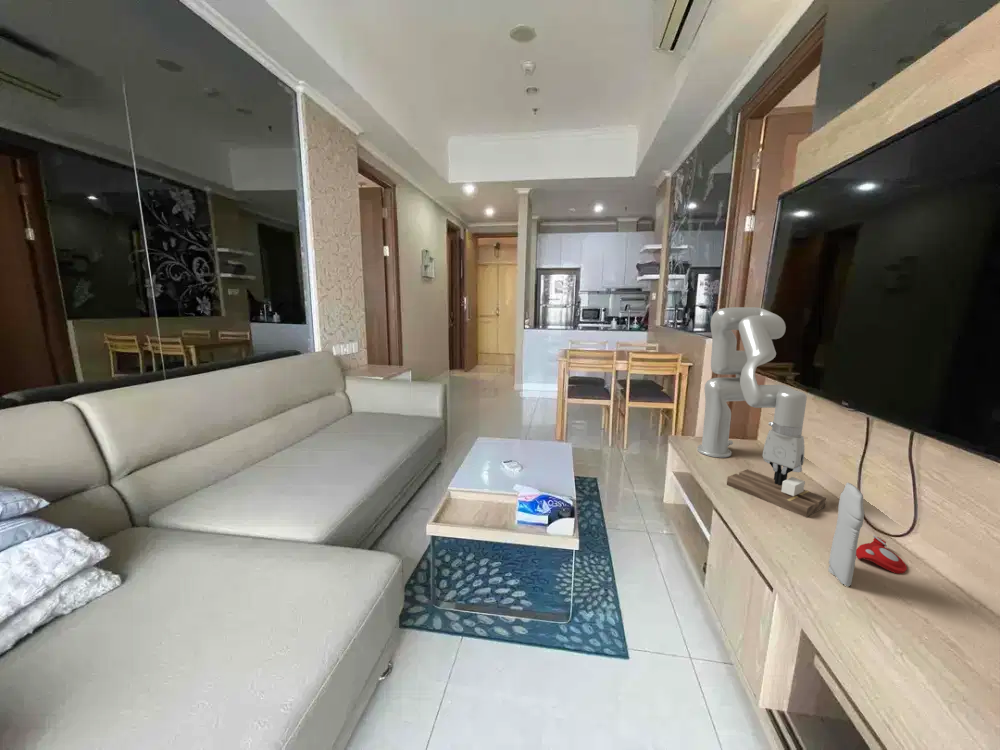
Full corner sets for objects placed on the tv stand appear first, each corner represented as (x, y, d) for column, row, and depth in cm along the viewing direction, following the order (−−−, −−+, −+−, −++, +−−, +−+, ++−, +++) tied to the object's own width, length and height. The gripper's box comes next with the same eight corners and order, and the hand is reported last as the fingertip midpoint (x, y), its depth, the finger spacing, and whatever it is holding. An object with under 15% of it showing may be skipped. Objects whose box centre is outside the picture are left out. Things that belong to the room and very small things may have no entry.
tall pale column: (821, 558, 101) (835, 476, 96) (841, 562, 99) (856, 479, 95) (836, 585, 91) (852, 496, 87) (859, 590, 90) (877, 500, 85)
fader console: (746, 477, 145) (747, 469, 145) (825, 506, 125) (826, 497, 124) (726, 484, 139) (727, 476, 139) (806, 517, 119) (807, 507, 118)
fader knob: (790, 492, 130) (792, 476, 129) (802, 496, 127) (804, 481, 126) (780, 496, 127) (782, 481, 126) (792, 501, 124) (795, 485, 123)
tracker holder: (920, 573, 94) (876, 560, 95) (908, 585, 96) (864, 573, 97) (886, 533, 105) (846, 522, 106) (875, 545, 107) (836, 534, 108)
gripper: (755, 424, 131) (749, 477, 135) (808, 438, 118) (799, 496, 122) (768, 421, 135) (761, 472, 138) (820, 434, 122) (812, 490, 125)
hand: (779, 483), depth 130 cm, fingers closed
